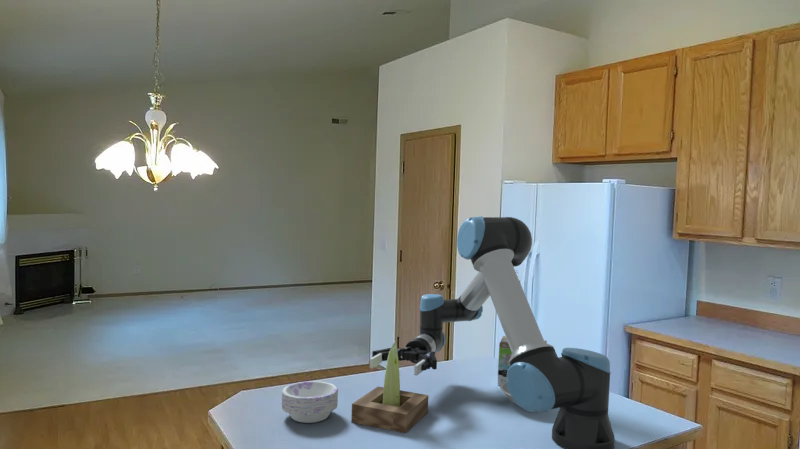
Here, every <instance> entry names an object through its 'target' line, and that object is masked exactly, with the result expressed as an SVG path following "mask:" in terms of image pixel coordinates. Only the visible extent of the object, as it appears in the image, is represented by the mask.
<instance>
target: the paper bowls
mask: <svg viewBox="0 0 800 449" xmlns="http://www.w3.org/2000/svg"><path fill="white" fill-rule="evenodd" d="M338 395H339V388H338V387H337V386H336V385H335V384H333V383H331V382H326V381H319V380H317V381H315V380H309V381H299V382H295V383H291V384H289V385H286V386H284V387H283V389H282V390H281V409H282V411H284V412H285V413H288V414H289V416H290V418H291V419H292V420H293V421H295V422H298V423H302V424H304V423H305V424H312V423H319V422H321V421H322V422H323V421H324V420H326V419H327V418H328V417H329V415H330V414H331V412H333V411H335V410H336V409H337V408H338V402H339V400H338V398H339V397H338Z"/></svg>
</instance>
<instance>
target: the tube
mask: <svg viewBox="0 0 800 449" xmlns="http://www.w3.org/2000/svg"><path fill="white" fill-rule="evenodd" d="M390 348H391V349H390V351H389V355H388V359H387V361H386V366H385V373H384V380H383V387H384V391H383V404H385V405H391V406H396V407H400V390H401V379H400V376H401V375H400V363H399V362H400V361H399V360H398V352H397V349H398V346H397V341H396V340H394V341H393V344H392V345H391V346H390Z"/></svg>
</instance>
